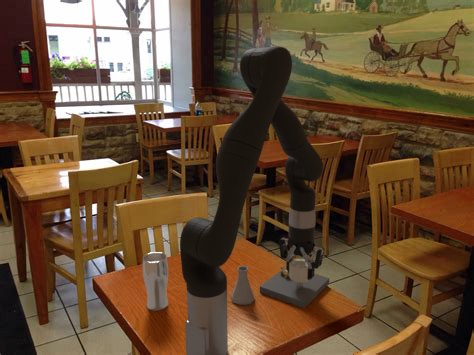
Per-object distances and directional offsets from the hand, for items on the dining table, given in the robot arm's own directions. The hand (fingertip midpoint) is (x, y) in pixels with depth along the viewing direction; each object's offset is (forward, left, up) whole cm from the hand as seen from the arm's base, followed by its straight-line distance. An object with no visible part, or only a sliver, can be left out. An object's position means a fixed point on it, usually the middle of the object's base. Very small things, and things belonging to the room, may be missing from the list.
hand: (300, 275), depth 122 cm
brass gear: (+6, +6, -4) cm, 9 cm away
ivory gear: (0, 0, -1) cm, 1 cm away
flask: (-13, +12, -6) cm, 18 cm away
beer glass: (-30, +30, -6) cm, 43 cm away
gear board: (+2, +3, -6) cm, 7 cm away
